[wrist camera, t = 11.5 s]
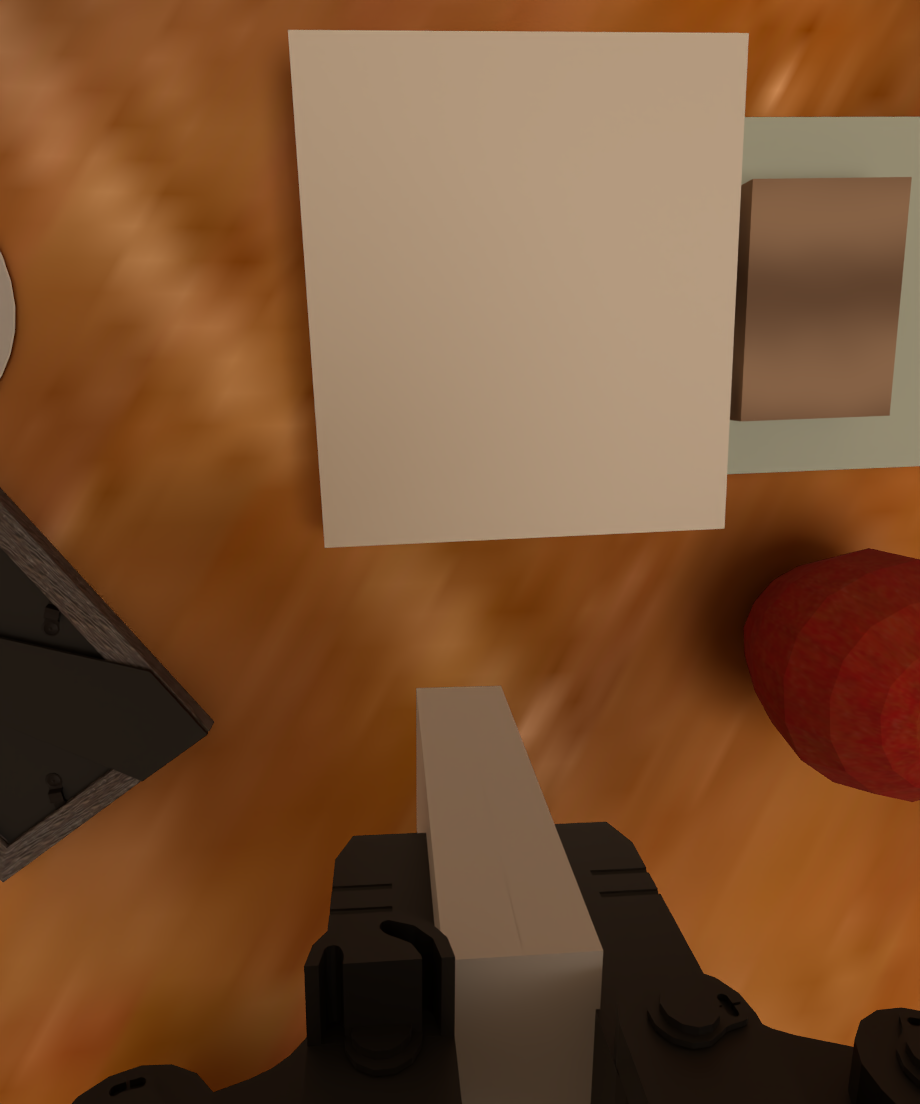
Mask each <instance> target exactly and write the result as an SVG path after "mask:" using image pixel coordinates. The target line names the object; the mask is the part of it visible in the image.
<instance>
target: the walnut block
mask: <svg viewBox="0 0 920 1104" xmlns="http://www.w3.org/2000/svg"><path fill="white" fill-rule="evenodd" d="M911 180H912V177H869V178H785V179H752V180H750V181H748V182H746V183H745V184H743V185H741V200H740V221H739V241H738V262H737V282H736V302H735V323H734V343H733V364H732V384H731V404H730V420H733V421H765V420H791V419H817V418H843V417H868V416H890V406H891V395H892V384H893V373H894V363H895V352H896V341H897V330H898V320H899V309H900V298H901V287H902V277H903V266H904V255H905V245H906V234H907V223H908V212H909V202H910V191H911Z"/></svg>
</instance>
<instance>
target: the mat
mask: <svg viewBox="0 0 920 1104" xmlns="http://www.w3.org/2000/svg"><path fill="white" fill-rule="evenodd" d="M869 177H912V180H911V191H910V202H909V212H908V223H907V234H906V245H905V255H904V266H903V277H902V287H901V298H900V309H899V320H898V330H897V341H896V352H895V363H894V373H893V384H892V395H891V406H890V416H868V417H843V418H817V419H791V420H765V421H733V420H730V425H729V445H728V465H727V474H743V473H766V472H790V471H814V470H837V469H861V468H885V467H908V466H920V117H745V119H744V139H743V160H742V180H741V185H743V184H745V183H746V182H748V181H750V180H752V179H785V178H869Z"/></svg>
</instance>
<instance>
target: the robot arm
mask: <svg viewBox="0 0 920 1104" xmlns="http://www.w3.org/2000/svg"><path fill="white" fill-rule="evenodd" d="M416 732H417V833H407V834H385V835H363V836H353V837H352V838H351V840H350V841H349V842H348V844H347V845H346V846H345V848H344V849H343V850H342V852H341V853H340V854H339V855H338V857H337V858H336V859H335V868H334V877H333V889H332V896H331V905H330V915H329V923H328V931H327V932H326V933H325V934H324V935H323V936H322V937H321V938H320V939H319V940H318V941H317V942H316V943H315V944H314V945H313V946H312V948H311V951H310V953H309V956H308V958H307V961H306V963H305V966H304V973H305V999H306V1025H307V1037H306V1039H305V1040H304V1041H303V1042H302V1043H301V1044H300V1045H299V1047H298V1048H297V1049H296V1050H295V1051H294V1052H293V1053H292V1054H291V1055H290V1056H289V1057H287V1058H286V1059H284V1060H283V1061H282V1062H280V1063H279V1064H277V1065H276V1066H275V1067H273V1068H272V1069H270V1070H268V1071H266V1072H264V1073H261V1074H259V1075H257V1076H255V1077H253V1078H251V1079H249V1080H246V1081H243V1082H240V1083H238V1084H235V1085H232V1086H229V1087H227V1088H224V1089H221V1090H218V1091H216V1092H212V1090H211V1089H210V1088H209V1087H208V1086H207V1085H206V1084H205V1082H204V1081H203V1080H202V1079H201V1078H200V1077H199V1076H198V1074H197V1073H194V1072H191V1071H189V1070H186V1069H183V1068H180V1067H178V1066H175V1065H172V1064H171V1065H145V1066H139V1067H136V1068H133V1069H130V1070H127V1071H124V1072H121V1073H118V1074H116V1075H113V1076H110V1077H108V1078H106V1079H105V1080H103V1081H102V1082H100V1083H99V1084H97V1085H95V1086H94V1087H92V1088H91V1089H89V1090H88V1091H86V1092H85V1093H83V1094H82V1095H80V1096H78V1097H77V1098H76V1099H75V1101H74V1102H73V1103H72V1104H920V1011H917V1010H912V1009H907V1008H893V1009H883V1010H876V1011H875V1012H873V1013H872V1014H870V1015H869V1016H867V1017H866V1018H864V1019H863V1020H861V1021H860V1024H859V1027H858V1030H857V1034H856V1037H855V1041H854V1047H851V1046H846V1045H841V1044H836V1043H831V1042H826V1041H821V1040H816V1039H811V1038H806V1037H801V1036H796V1035H792V1034H789V1033H785V1032H782V1031H778V1030H775V1029H772V1028H770V1027H767V1026H765V1025H763V1024H762V1023H761V1021H760V1019H759V1018H758V1016H757V1014H756V1013H755V1012H754V1011H753V1009H752V1008H751V1007H750V1006H749V1005H748V1003H747V1002H746V1001H745V1000H744V999H743V997H742V996H741V995H740V994H739V993H738V992H736V991H735V990H733V989H732V988H730V987H729V986H727V985H726V984H724V983H723V982H721V981H720V980H718V979H717V978H715V977H712V976H709V975H706V974H704V973H703V972H702V970H701V968H700V966H699V964H698V962H697V960H696V959H695V957H694V955H693V953H692V951H691V949H690V948H689V946H688V944H687V942H686V940H685V938H684V937H683V935H682V933H681V931H680V929H679V927H678V926H677V924H676V922H675V920H674V918H673V916H672V914H671V913H670V911H669V909H668V907H667V905H666V903H665V902H664V900H663V898H662V896H661V894H658V890H657V887H656V885H655V883H654V881H653V880H652V878H651V876H650V874H649V873H647V872H646V867H645V865H644V863H643V861H642V859H641V857H640V856H639V854H638V852H637V850H636V848H635V846H634V845H633V843H632V842H631V841H630V840H629V839H627V838H626V837H625V836H624V835H622V834H621V833H620V832H619V831H617V830H616V829H615V828H614V827H612V826H611V825H610V824H608V823H607V822H592V823H569V824H554V822H553V819H552V817H551V814H550V812H549V809H548V806H547V804H546V801H545V799H544V796H543V793H542V791H541V788H540V786H539V783H538V781H537V778H536V775H535V773H534V770H533V768H532V765H531V762H530V760H529V757H528V755H527V752H526V749H525V747H524V744H523V742H522V739H521V737H520V734H519V731H518V729H517V726H516V724H515V721H514V718H513V716H512V713H511V711H510V708H509V706H508V703H507V700H506V698H505V695H504V693H503V690H502V687H501V686H477V687H441V688H416Z"/></svg>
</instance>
